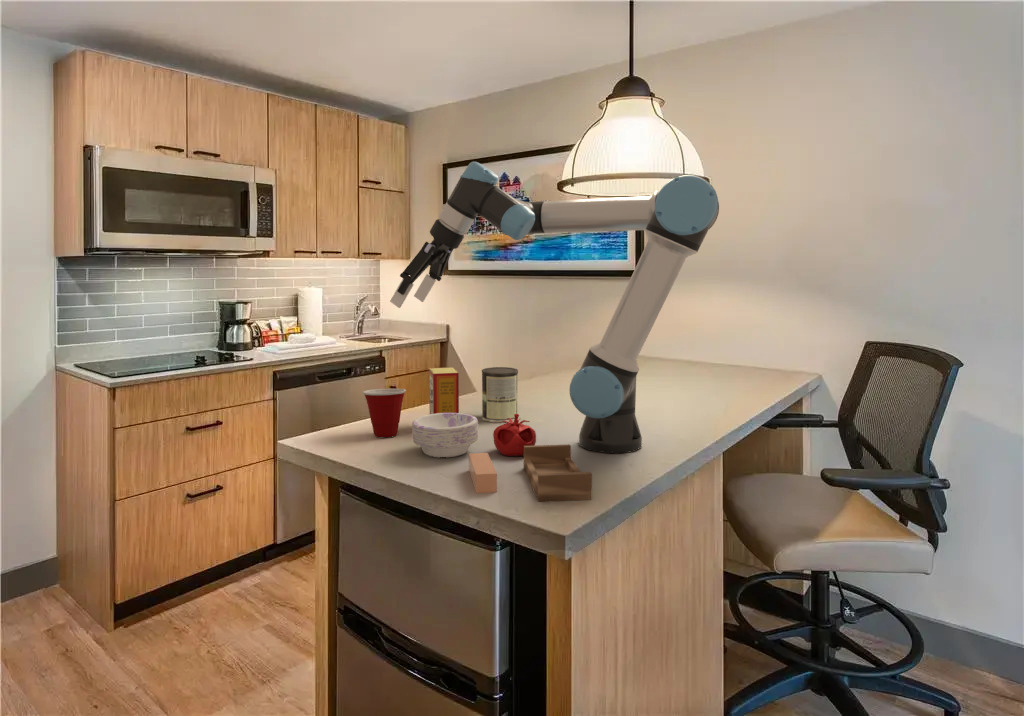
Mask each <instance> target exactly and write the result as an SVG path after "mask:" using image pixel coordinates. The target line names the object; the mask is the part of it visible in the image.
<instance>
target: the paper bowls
mask: <svg viewBox="0 0 1024 716" xmlns="http://www.w3.org/2000/svg"><path fill="white" fill-rule="evenodd" d="M478 423H479V421H478V419H477V417H476V416H474V415H471V414H467V413H460V412H459V413H437V414H430V413H429V414H426V415H421V416H419V417H416V418H415V419H413V421H412V423H411V425H412V427H411V429H412V441H413V442H412V443H413V444H414V445H416V446H419V447H420V448H421V450H422V452H423V453H424V454H425V455H426V456H429V457H432V456H433V458H440V457H446V458H453V457H459V456H461V455H464V454H465V453H467V452H468V451H469V449H470V447H471V445H472V444H474V443H476V442H477V441H478V440H479V439H478V438H479V424H478Z"/></svg>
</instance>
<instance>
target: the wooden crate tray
mask: <svg viewBox="0 0 1024 716" xmlns="http://www.w3.org/2000/svg"><path fill="white" fill-rule="evenodd" d="M571 450H572V445H571V444H544V445H543V444H542V445H541V444H540V445H539V444H537V445H536V444H535V446H524V455H523V469H524V472H525V474H526V476H527V479H528V481H529V483H530V485H531V488H532V490H533V492H534V494H535V497H536V499H537V501H538V502H539V503H540V502H542V503H544V502H568V501H587V500H588V501H589V500H590V501H591V500H592V490H593V489H592V487H593V485H592V484H593V483H592V482H593V481H592V480H593V474H592V472H591V471H584V472H583V471H581V470H580V468H578V466H577V464H576V463H575V461H574V460H573V459H572V456H571V453H572V451H571Z"/></svg>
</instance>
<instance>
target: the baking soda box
mask: <svg viewBox="0 0 1024 716" xmlns="http://www.w3.org/2000/svg"><path fill="white" fill-rule="evenodd" d="M428 387H429V388H428V389H429V390H428V391H429V392H428V393H429V395H428V396H429V403H428V404H429V405H428V406H429V415H430V414H437V413H460V409H459V408H460V402H459V400H460V398H459V397H460V396H459V391H460V390H459V372H458V371H457V370H456V369H455V368H454V367H428Z"/></svg>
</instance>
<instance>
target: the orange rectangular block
mask: <svg viewBox="0 0 1024 716" xmlns="http://www.w3.org/2000/svg"><path fill="white" fill-rule="evenodd" d="M468 471H469V474H470V478H471V481H472V484H473V486H474V490H475V493H476V494H484V493H485V494H486V493H487V494H488V493H489V494H490V493H497V492H498V473H497V471H496V468H495V466H494V463H493V462H492V459H491V456H490V455H489V453H488V452H478V453H468Z"/></svg>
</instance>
